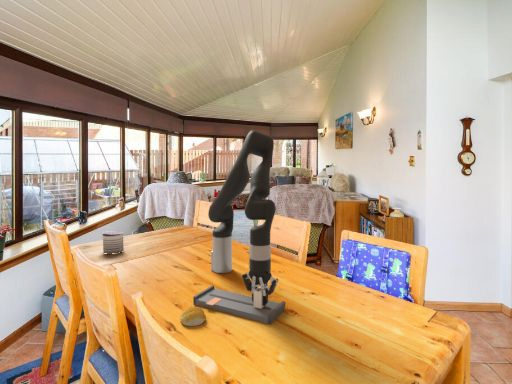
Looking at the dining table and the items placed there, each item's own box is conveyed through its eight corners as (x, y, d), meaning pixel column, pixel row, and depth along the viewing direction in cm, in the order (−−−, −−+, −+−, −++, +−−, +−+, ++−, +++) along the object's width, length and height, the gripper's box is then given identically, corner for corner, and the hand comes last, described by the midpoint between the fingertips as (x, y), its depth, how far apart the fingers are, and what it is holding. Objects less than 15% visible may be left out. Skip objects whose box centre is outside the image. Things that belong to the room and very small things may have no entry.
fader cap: (253, 307, 114) (253, 290, 113) (258, 302, 117) (258, 286, 117) (261, 308, 112) (261, 291, 112) (266, 304, 116) (266, 287, 115)
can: (100, 251, 189) (99, 231, 187) (120, 248, 196) (119, 228, 195) (106, 256, 180) (105, 235, 179) (127, 252, 188) (126, 232, 187)
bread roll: (203, 312, 115) (202, 301, 115) (207, 324, 106) (207, 313, 106) (179, 316, 112) (178, 304, 112) (181, 328, 104) (181, 316, 103)
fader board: (191, 305, 120) (191, 297, 120) (212, 292, 132) (212, 285, 131) (269, 326, 105) (269, 317, 105) (285, 309, 117) (285, 301, 117)
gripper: (282, 256, 113) (282, 303, 115) (247, 250, 119) (247, 296, 121) (273, 262, 106) (273, 312, 108) (237, 256, 113) (237, 303, 115)
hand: (259, 303), depth 115 cm, fingers closed on fader cap, 3 cm apart
